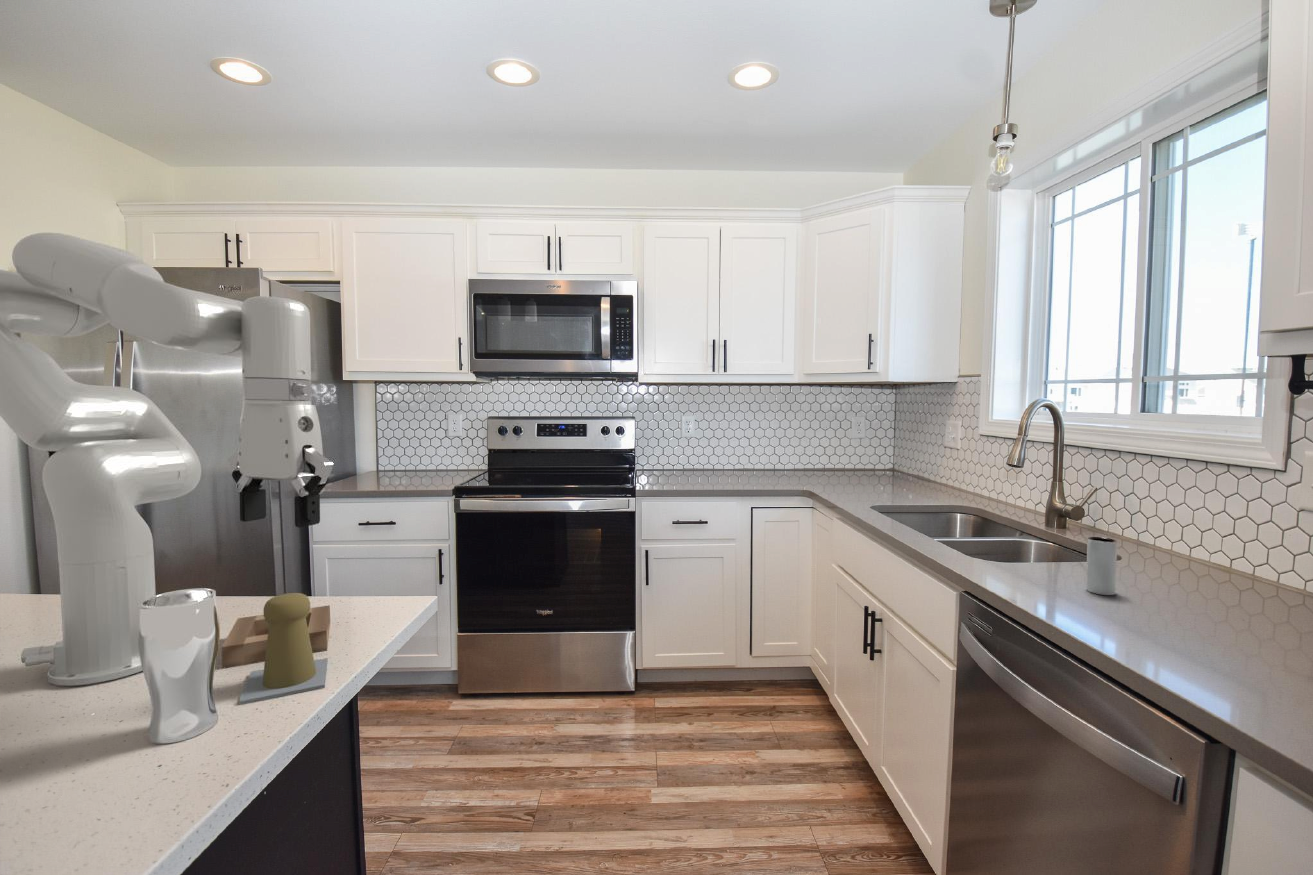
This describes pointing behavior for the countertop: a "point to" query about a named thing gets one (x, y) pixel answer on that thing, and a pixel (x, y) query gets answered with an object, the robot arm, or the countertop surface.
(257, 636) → the wooden square frame
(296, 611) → the olive rounded peg
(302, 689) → the rubber mat
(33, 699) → the countertop surface
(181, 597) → the beer glass
